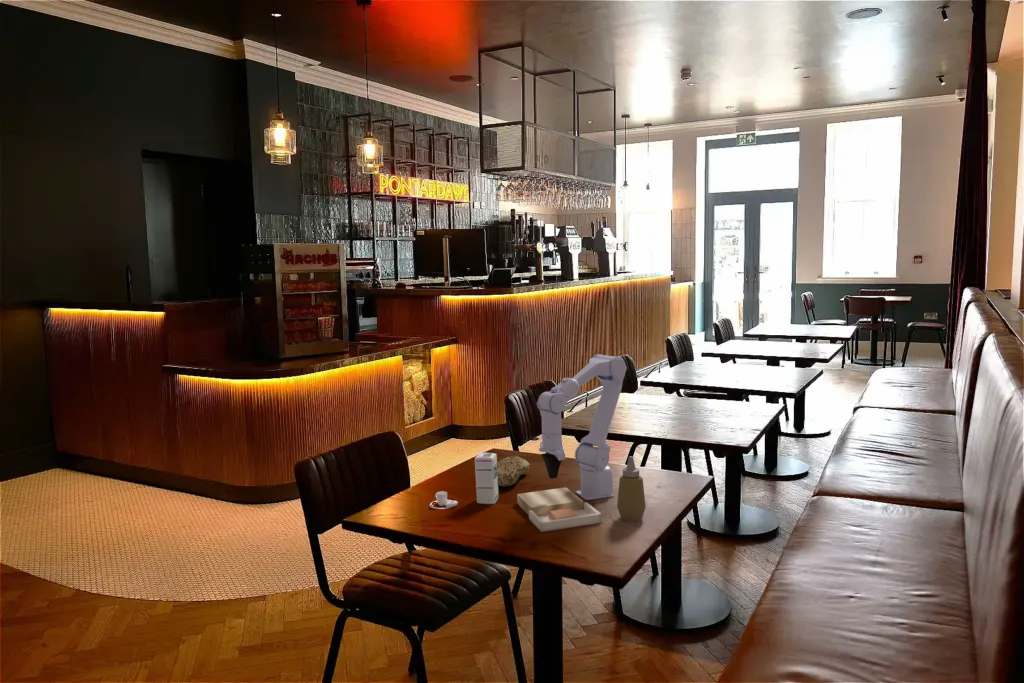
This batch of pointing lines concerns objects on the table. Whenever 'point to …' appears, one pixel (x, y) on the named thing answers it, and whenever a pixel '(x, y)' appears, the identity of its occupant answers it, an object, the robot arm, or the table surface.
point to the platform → (549, 501)
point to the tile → (562, 514)
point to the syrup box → (486, 478)
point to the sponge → (511, 470)
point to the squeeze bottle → (631, 493)
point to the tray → (567, 519)
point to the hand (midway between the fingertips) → (553, 477)
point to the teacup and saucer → (443, 500)
